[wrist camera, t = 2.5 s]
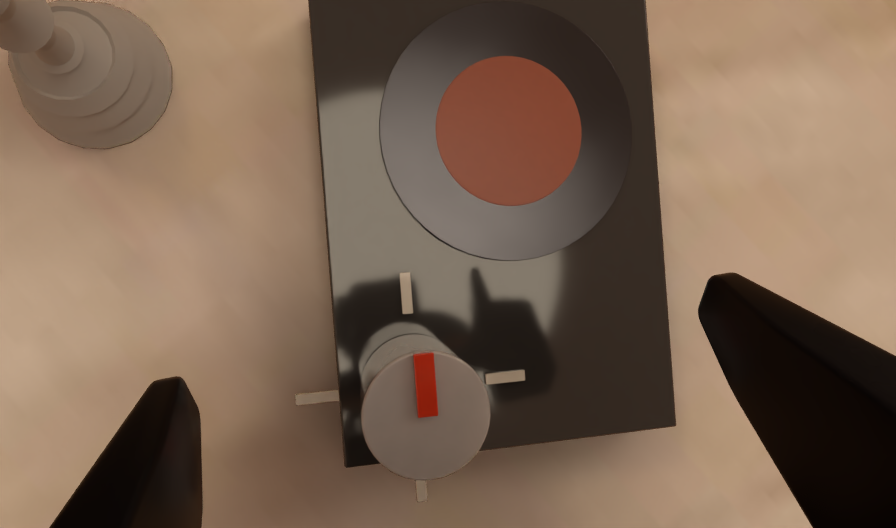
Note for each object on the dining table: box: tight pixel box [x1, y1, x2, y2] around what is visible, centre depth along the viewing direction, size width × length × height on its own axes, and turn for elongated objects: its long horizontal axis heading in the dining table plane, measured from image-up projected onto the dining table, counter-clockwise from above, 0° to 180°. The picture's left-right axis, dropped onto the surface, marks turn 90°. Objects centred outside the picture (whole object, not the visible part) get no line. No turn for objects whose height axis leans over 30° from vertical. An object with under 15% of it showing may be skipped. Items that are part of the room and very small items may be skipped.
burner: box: [379, 1, 632, 261], centre depth 21 cm, size 9×9×1 cm
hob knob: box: [360, 334, 491, 481], centre depth 18 cm, size 4×4×4 cm
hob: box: [295, 0, 676, 502], centre depth 22 cm, size 17×13×2 cm
